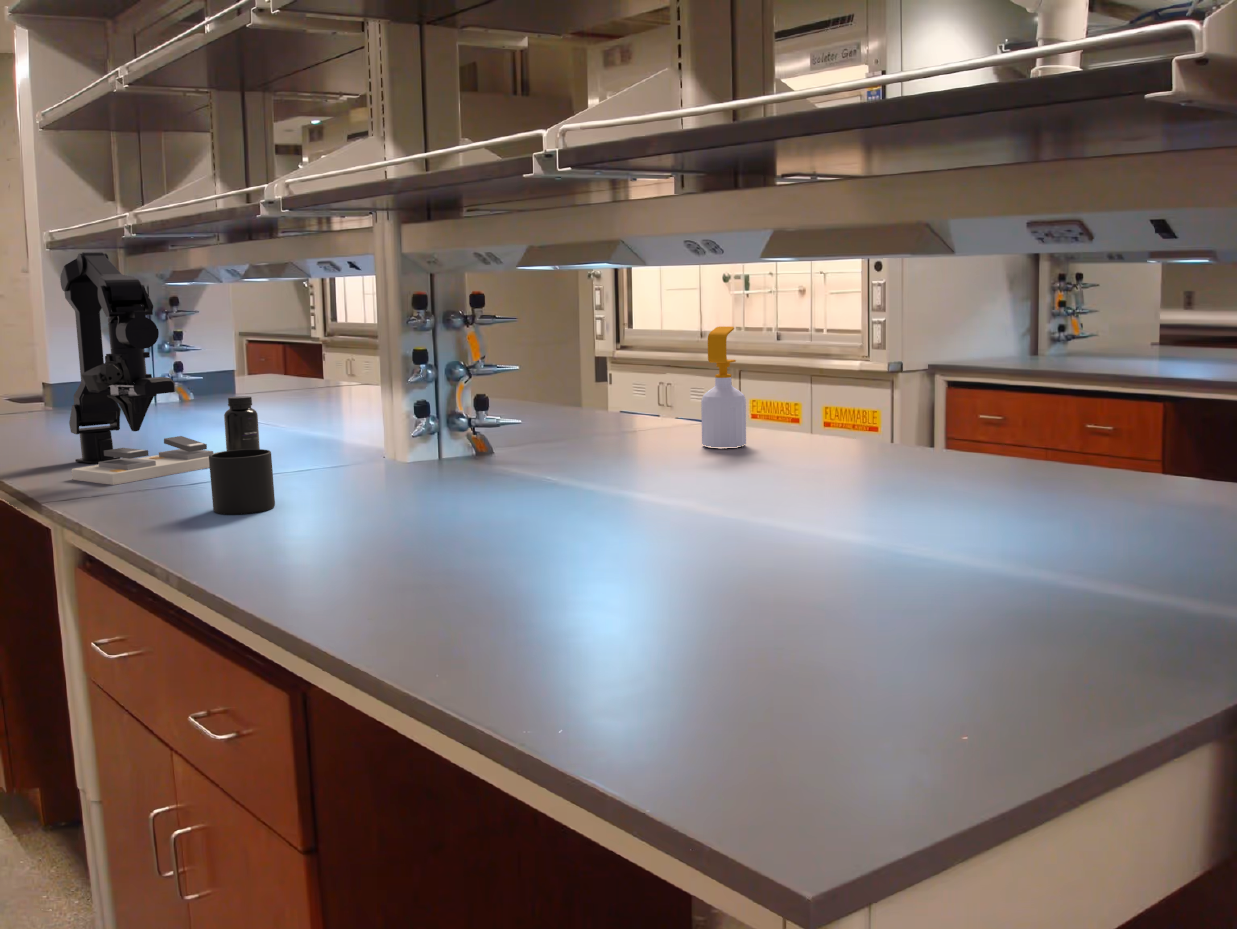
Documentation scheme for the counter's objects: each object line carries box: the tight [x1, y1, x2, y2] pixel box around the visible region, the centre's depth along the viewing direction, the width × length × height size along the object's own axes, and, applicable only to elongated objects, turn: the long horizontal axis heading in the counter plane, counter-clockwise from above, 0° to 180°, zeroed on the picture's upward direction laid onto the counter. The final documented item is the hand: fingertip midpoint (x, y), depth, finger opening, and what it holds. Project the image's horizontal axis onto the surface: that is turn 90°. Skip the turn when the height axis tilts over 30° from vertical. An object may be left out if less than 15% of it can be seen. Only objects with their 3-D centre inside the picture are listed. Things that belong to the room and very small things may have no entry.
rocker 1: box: [104, 447, 150, 459], centre depth 215 cm, size 8×4×1 cm, turn 57°
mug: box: [209, 448, 276, 516], centre depth 181 cm, size 9×12×9 cm
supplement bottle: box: [223, 395, 261, 451], centre depth 241 cm, size 7×7×12 cm
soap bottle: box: [700, 326, 747, 447], centre depth 232 cm, size 9×9×25 cm
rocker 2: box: [163, 435, 208, 452], centre depth 225 cm, size 8×4×1 cm, turn 57°
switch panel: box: [71, 448, 215, 486], centre depth 220 cm, size 13×25×3 cm, turn 147°
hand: (135, 431), depth 212 cm, fingers closed
